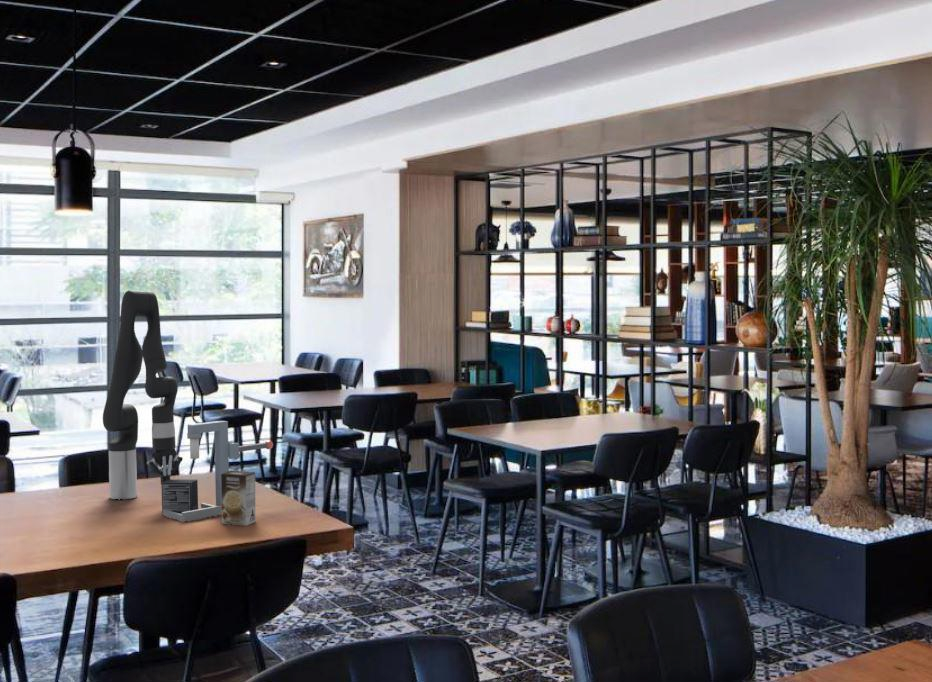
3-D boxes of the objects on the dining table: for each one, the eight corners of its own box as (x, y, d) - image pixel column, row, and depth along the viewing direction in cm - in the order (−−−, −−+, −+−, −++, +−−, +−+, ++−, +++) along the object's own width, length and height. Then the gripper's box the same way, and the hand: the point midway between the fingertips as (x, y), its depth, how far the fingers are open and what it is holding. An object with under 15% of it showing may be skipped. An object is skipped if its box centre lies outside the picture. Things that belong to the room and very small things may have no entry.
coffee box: (220, 524, 321) (219, 473, 320) (231, 519, 327) (230, 470, 326) (246, 526, 318) (245, 475, 317) (256, 521, 324) (255, 471, 323)
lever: (274, 449, 353) (274, 440, 352) (229, 455, 340) (229, 446, 340) (269, 448, 355) (269, 439, 355) (225, 454, 342) (224, 445, 342)
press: (162, 516, 334) (160, 424, 332) (223, 505, 350) (221, 418, 348) (183, 522, 324) (181, 428, 323) (244, 510, 340) (243, 421, 339)
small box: (199, 509, 343) (198, 478, 342) (192, 514, 337) (191, 482, 336) (168, 509, 344) (168, 478, 344) (161, 513, 338) (160, 482, 337)
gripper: (175, 432, 354) (177, 482, 355) (140, 437, 344) (142, 488, 345) (186, 434, 349) (188, 484, 349) (151, 438, 339) (153, 490, 340)
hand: (165, 486), depth 347 cm, fingers closed
